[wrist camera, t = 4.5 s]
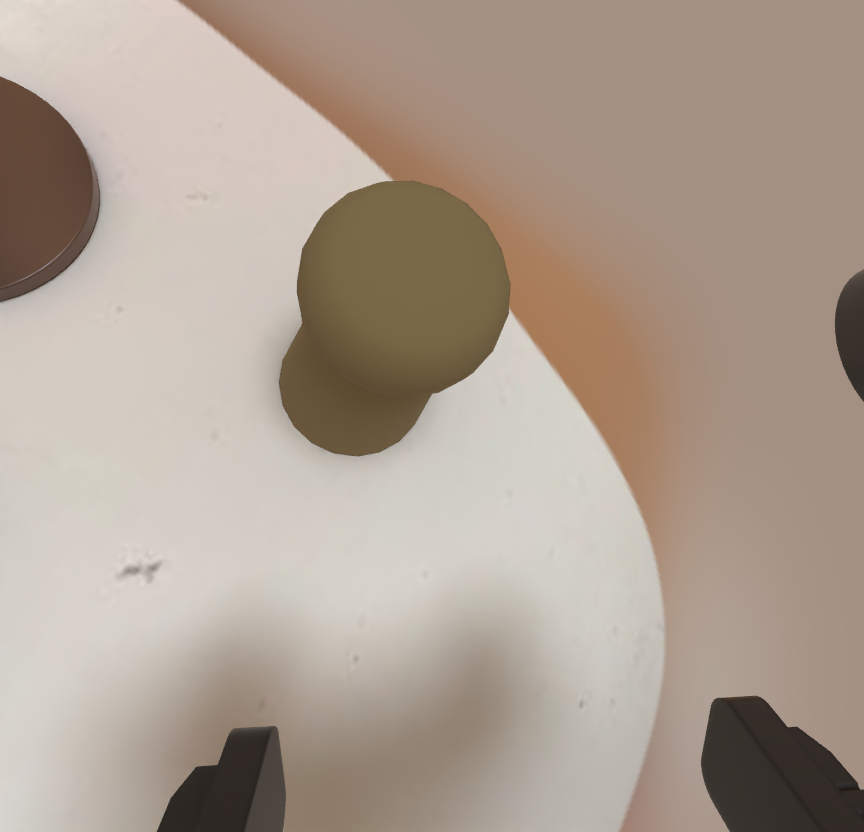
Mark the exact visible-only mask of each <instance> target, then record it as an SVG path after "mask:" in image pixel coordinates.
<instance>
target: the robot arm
mask: <svg viewBox="0 0 864 832" xmlns="http://www.w3.org/2000/svg"><path fill="white" fill-rule="evenodd" d="M701 767H702V774H703V778H704V782H705V785H706V788H707V791H708V793H709V795H710V798H711V799H712V801H713V803H714V805H715V807H716V808H717V810H718V812H719V814H720V815H721V817H722V819H723V821H724V822H725V824H726V826H727V828H728V829H729V831H730V832H864V790H860V788H859V787H858V783H857V782H856V781H855V779H854V778H853V777H852V776H851V775H850V774H849V773H848V772H847V770H846V769H845V768H844V767H843V766H842V764H841V763H840V762H839V761H838V760H837V759H836V758H835V756H834V755H833V754H832V753H831V752H830V751H828V750H827V749H826V748H825V747H823V746H822V745H821V744H819V743H818V742H817V741H815V740H814V739H813V738H811V737H810V736H808V735H807V734H806V733H805V732H803V731H802V730H801V729H799V728H798V727H787V726H786V725H785V723H784V722H783V721H782V720H781V719H780V717H779V716H778V715H777V714H776V713H775V711H774V710H773V709H772V708H771V707H770V705H769V704H768V703H767V702H766V701H765V700H764V699H762V698H760V697H758V696H745V697H730V698H717V699H715V700H714V701H713V702H712V705H711V709H710V715H709V720H708V725H707V731H706V736H705V742H704V747H703V752H702V758H701ZM285 802H286V791H285V781H284V773H283V765H282V757H281V749H280V741H279V733H278V729H277V727H276V726H269V727H252V728H235V729H233V730H232V731H231V732H230V734H229V736H228V738H227V741H226V743H225V746H224V749H223V752H222V755H221V757H220V760H219V763H218V765H215V766H199V767H196V768H195V769H194V770H193V771H192V773H191V774H190V775H189V776H188V778H187V779H186V780H185V781H184V783H183V784H182V785H181V786H180V787H179V789H178V790H177V791H176V792H175V794H174V795H173V796H172V797H171V799H170V801H169V804H168V806H167V809H166V811H165V813H164V816H163V818H162V821H161V823H160V825H159V828H158V830H157V832H282V831H283V825H284V816H285Z"/></svg>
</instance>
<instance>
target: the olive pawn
mask: <svg viewBox="0 0 864 832" xmlns="http://www.w3.org/2000/svg"><path fill="white" fill-rule="evenodd" d="M297 295H298V300H299V306H300V311H301V317H302V322H303V324H302V325H301V327H300V329H299V331H298V333H297V335H296V337H295V338H294V340H293V342H292V344H291V346H290V348H289V350H288V351H287V353H286V355H285V357H284V359H283V361H282V368H281V374H280V380H279V386H280V392H281V397H282V403H283V407H284V408H285V410H286V412H287V414H288V416H289V418H290V419H291V421H292V423H293V425H294V427H295V428H296V429H298V430H299V431H300V432H301V433H302V434H303V435H304V436H305V437H306V438H307V439H308V440H309V441H310V442H311V443H313V444H315V445H317V446H319V447H322V448H324V449H326V450H328V451H330V452H332V453H336V454H344V455H351V456H361V455H367V454H372V453H377V452H381V451H383V450H384V449H386V448H388V447H390V446H392V445H394V444H395V443H397V442H399V441H400V440H401V439H402V438H403V437H404V436H405V435H406V434H407V432H408V431H409V430H410V429H411V428H412V427H413V426H414V425H415V423H416V421H417V419H418V418H419V416H420V414H421V412H422V410H423V409H424V407H425V405H426V403H427V402H428V400H429V398H430V396H431V395H432V394H433V393H439V392H440V391H442V390H444V389H446V388H448V387H450V386H452V385H454V384H456V383H458V382H459V381H461V380H463V379H465V378H466V377H468V376H469V375H471V374H472V373H473V372H474V371H475V370H476V369H477V368H478V367H479V366H480V365H481V364H482V362H483V361H484V360H485V359H486V358H487V357H488V356H489V355H490V354H491V353H492V352H493V350H494V347H495V345H496V343H497V341H498V338H499V336H500V333H501V331H502V329H503V326H504V324H505V321H506V319H507V317H508V314H509V298H510V281H509V277H508V273H507V269H506V265H505V260H504V256H503V253H502V250H501V247H500V246H499V244H498V242H497V240H496V239H495V237H494V235H493V233H492V232H491V230H490V228H489V226H488V224H487V223H486V222H485V221H484V220H483V219H482V218H480V216H479V215H477V213H476V212H475V211H474V210H473V209H472V208H470V206H469V205H468V204H467V203H465V202H463V201H462V200H460V199H458V198H457V197H455V196H453V195H451V194H450V193H448V192H446V191H445V190H443V189H441V188H438V187H434V186H430V185H427V184H423V183H419V182H415V181H386V182H380V183H376V184H373V185H370V186H367V187H364V188H362V189H359V190H356V191H353V192H350V193H348V194H347V195H345V196H344V197H343V198H342V199H340V200H339V201H338V202H337V203H335V204H334V205H333V206H332V207H330V208H329V209H328V210H327V211H326V212H324V214H323V215H322V217H321V218H320V220H319V221H318V223H317V224H316V226H315V228H314V230H313V231H312V233H311V235H310V236H309V238H308V240H307V242H306V243H305V245H304V247H303V249H302V254H301V261H300V267H299V273H298V279H297Z"/></svg>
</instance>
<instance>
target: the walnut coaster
mask: <svg viewBox="0 0 864 832" xmlns="http://www.w3.org/2000/svg"><path fill="white" fill-rule="evenodd" d="M98 208H99V187H98V180H97V176H96V172H95V169H94V166H93V163H92V161H91V159H90V157H89V155H88V153H87V151H86V149H85V147H84V145H83V143H82V142H81V140H80V138H79V137H78V135H77V134H76V132H75V131H74V129H73V128H72V126H71V125H70V124H69V123H68V122H67V121H66V120H65V118H64V117H63V116H62V115H61V114H60V113H59V112H58V111H57V110H55V109H54V108H53V107H52V106H51V105H50V104H49V103H47V102H46V101H44V100H43V99H42V98H40V97H39V96H37V95H36V94H34V93H33V92H31V91H29V90H28V89H26V88H24V87H22V86H20V85H18V84H17V83H14V82H12V81H10V80H7V79H5V78H2V77H0V301H2V300H5V299H8V298H12V297H15V296H18V295H21V294H23V293H25V292H28V291H30V290H32V289H35V288H37V287H38V286H40V285H42V284H44V283H45V282H47V281H49V280H50V279H52V278H53V277H55V276H56V275H57V274H58V273H60V272H61V271H62V270H64V269H65V268H66V267H67V266H68V265H69V264H70V263H71V262H72V261H73V260H74V259H75V258H76V257H77V255H78V254H79V253H80V251H81V250H82V249H83V247H84V246H85V244H86V242H87V241H88V239H89V237H90V235H91V233H92V231H93V228H94V225H95V222H96V219H97V214H98Z"/></svg>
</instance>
